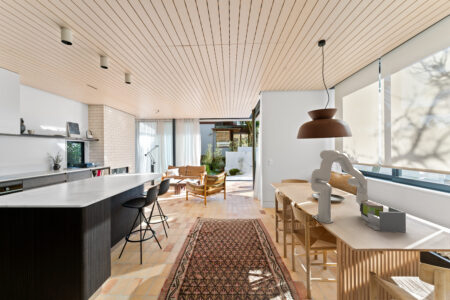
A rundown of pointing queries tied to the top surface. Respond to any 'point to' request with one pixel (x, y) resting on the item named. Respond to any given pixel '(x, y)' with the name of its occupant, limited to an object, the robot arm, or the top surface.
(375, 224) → the bookend
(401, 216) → the shelf wall
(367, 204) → the tea box
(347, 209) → the top surface
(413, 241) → the top surface
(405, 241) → the top surface
